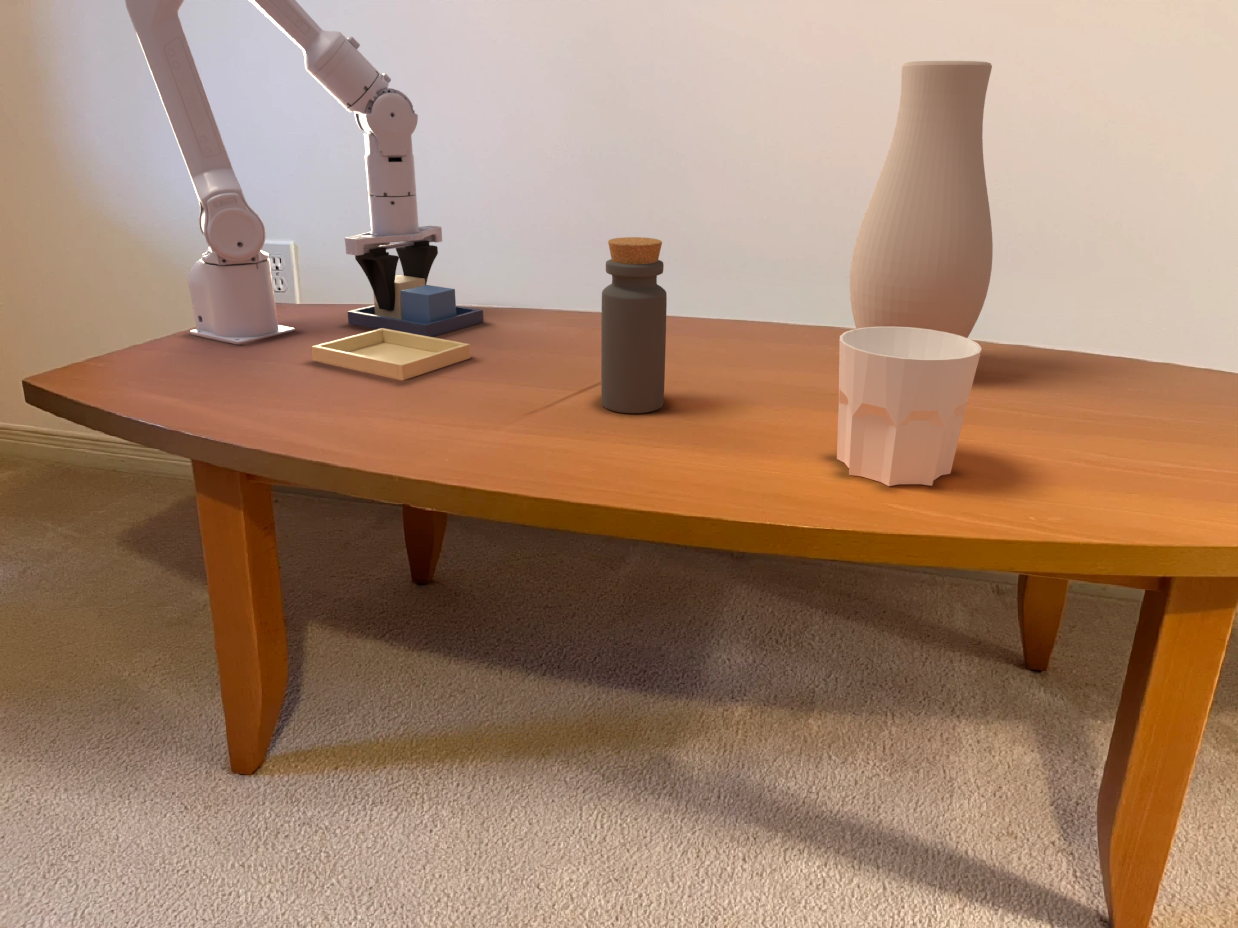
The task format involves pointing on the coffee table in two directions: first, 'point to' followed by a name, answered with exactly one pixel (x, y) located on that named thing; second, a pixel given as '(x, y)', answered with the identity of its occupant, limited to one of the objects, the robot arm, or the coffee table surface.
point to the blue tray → (435, 328)
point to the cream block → (399, 295)
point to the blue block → (428, 304)
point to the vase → (929, 208)
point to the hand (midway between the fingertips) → (401, 305)
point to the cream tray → (391, 353)
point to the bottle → (633, 327)
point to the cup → (902, 401)
